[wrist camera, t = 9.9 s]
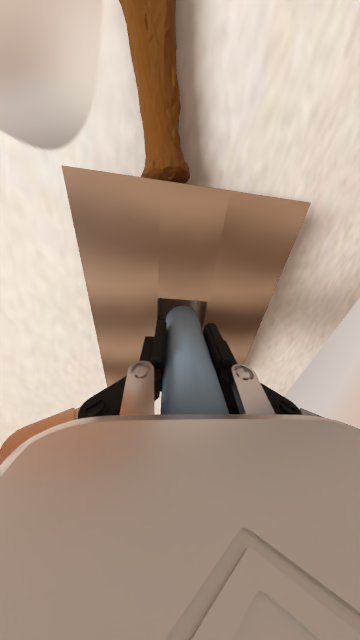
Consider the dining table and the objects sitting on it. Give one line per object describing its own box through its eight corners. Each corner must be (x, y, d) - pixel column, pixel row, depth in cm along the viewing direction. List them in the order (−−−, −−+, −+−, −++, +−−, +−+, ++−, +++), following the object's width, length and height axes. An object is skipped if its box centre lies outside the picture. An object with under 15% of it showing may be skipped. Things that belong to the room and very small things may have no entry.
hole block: (223, 366, 24) (232, 389, 20) (117, 363, 22) (107, 388, 18) (275, 210, 14) (310, 202, 10) (92, 185, 12) (61, 165, 9)
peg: (195, 334, 15) (229, 472, 6) (164, 332, 15) (157, 475, 6) (200, 306, 13) (253, 437, 5) (166, 304, 13) (159, 439, 5)
